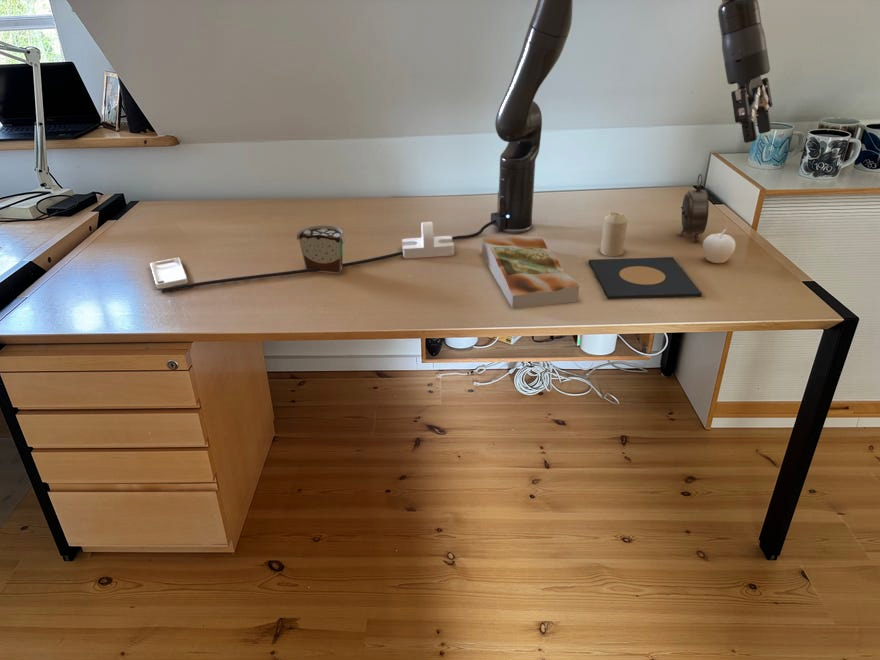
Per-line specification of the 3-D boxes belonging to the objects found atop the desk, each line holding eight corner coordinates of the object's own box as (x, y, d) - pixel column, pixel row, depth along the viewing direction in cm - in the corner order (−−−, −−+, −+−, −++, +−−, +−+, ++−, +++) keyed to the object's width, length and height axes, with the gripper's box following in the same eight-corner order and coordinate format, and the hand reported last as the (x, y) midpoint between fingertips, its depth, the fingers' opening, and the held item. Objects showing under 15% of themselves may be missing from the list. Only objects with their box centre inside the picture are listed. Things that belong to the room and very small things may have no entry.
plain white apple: (717, 268, 156) (725, 236, 152) (693, 258, 162) (699, 227, 157) (738, 262, 159) (746, 230, 155) (714, 252, 164) (720, 221, 160)
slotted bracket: (403, 258, 170) (402, 229, 166) (402, 248, 176) (400, 219, 172) (454, 255, 170) (454, 226, 166) (451, 245, 176) (451, 216, 172)
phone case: (188, 283, 163) (180, 261, 175) (187, 278, 162) (179, 257, 174) (157, 289, 161) (151, 267, 172) (155, 284, 160) (149, 262, 172)
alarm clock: (703, 244, 169) (716, 180, 160) (681, 243, 170) (692, 180, 161) (696, 228, 178) (708, 167, 169) (675, 228, 179) (685, 167, 170)
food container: (355, 264, 168) (352, 226, 163) (346, 274, 163) (342, 235, 158) (311, 260, 172) (306, 222, 166) (300, 269, 167) (295, 231, 162)
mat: (607, 299, 146) (608, 295, 145) (588, 262, 163) (588, 259, 162) (701, 296, 145) (702, 293, 144) (672, 260, 162) (672, 256, 161)
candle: (624, 249, 168) (630, 211, 163) (621, 257, 164) (626, 218, 159) (602, 246, 170) (607, 208, 165) (598, 254, 166) (602, 216, 161)
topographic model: (481, 254, 169) (482, 236, 167) (537, 249, 171) (538, 231, 168) (512, 307, 144) (513, 286, 142) (577, 301, 145) (579, 280, 143)
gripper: (737, 55, 138) (750, 134, 142) (711, 65, 129) (725, 149, 133) (777, 42, 132) (789, 125, 137) (752, 52, 123) (766, 140, 128)
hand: (758, 137), depth 135 cm, fingers open, 8 cm apart
